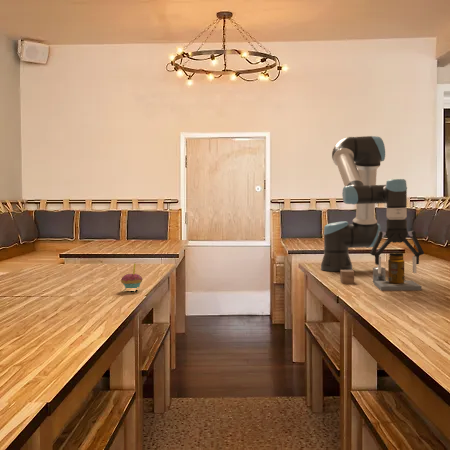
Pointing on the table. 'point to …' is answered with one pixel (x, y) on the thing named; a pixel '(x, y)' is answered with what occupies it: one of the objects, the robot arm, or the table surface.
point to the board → (398, 286)
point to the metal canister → (378, 276)
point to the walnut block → (347, 276)
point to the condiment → (395, 269)
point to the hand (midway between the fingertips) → (396, 272)
